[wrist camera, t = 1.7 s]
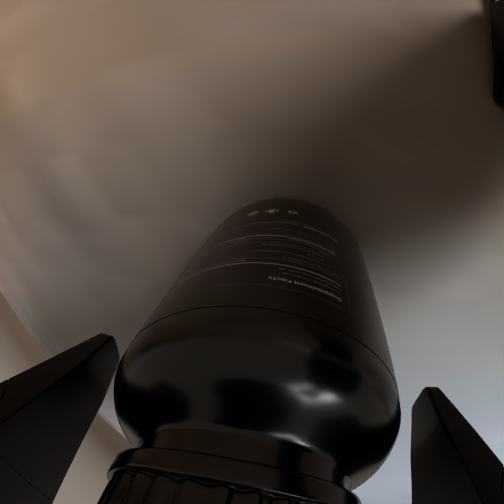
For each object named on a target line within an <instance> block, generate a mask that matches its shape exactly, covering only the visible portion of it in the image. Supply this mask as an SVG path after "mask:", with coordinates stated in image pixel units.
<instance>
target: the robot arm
mask: <svg viewBox="0 0 504 504" xmlns="http://www.w3.org/2000/svg"><path fill="white" fill-rule="evenodd" d="M490 12H491V27H492V53H493V55H494V80H493V98H494V101H495V103H496V104H497V105H498V106H499V107H500V108H503V109H504V100H503V98H502V93H503V92H504V0H491V4H490ZM118 363H119V353H118V349H117V345H116V341H115V339H114V337H113V336H110V335H107V334H103V333H101V334H98V335H96V336H94V337H92V338H90V339H88V340H86V341H84V342H82V343H80V344H78V345H76V346H74V347H72V348H70V349H68V350H66V351H64V352H62V353H60V354H58V355H56V356H54V357H52V358H50V359H48V360H46V361H44V362H42V363H40V364H38V365H36V366H34V367H32V368H30V369H28V370H26V371H24V372H22V373H20V374H18V375H16V376H14V377H12V378H10V379H9V380H5V381H3V382H1V383H0V504H52V503H53V501H54V499H55V496H56V494H57V492H58V490H59V488H60V486H61V484H62V482H63V479H64V477H65V475H66V473H67V471H68V469H69V467H70V465H71V463H72V461H73V459H74V457H75V455H76V453H77V451H78V449H79V447H80V445H81V443H82V441H83V439H84V437H85V435H86V433H87V431H88V429H89V427H90V425H91V423H92V422H93V420H94V418H95V416H96V414H97V412H98V410H99V408H100V406H101V404H102V402H103V400H104V398H105V395H106V393H107V390H108V388H109V385H110V383H111V380H112V378H113V375H114V373H115V371H116V368H117V366H118ZM411 478H412V504H504V467H503V464H502V463H501V461H500V460H499V459H498V458H497V456H496V455H495V454H494V453H493V451H492V450H491V449H490V448H489V446H488V445H487V444H486V443H485V442H484V440H483V439H482V438H481V437H480V436H479V434H478V433H477V432H476V431H475V430H474V428H473V427H472V426H471V425H470V424H469V422H468V421H467V420H466V419H465V418H464V416H463V415H462V414H461V413H460V412H459V411H458V409H457V408H456V407H455V406H454V405H453V404H452V402H451V401H450V400H449V399H448V398H447V397H446V396H445V394H444V393H443V392H442V391H441V390H440V389H439V388H438V387H425V388H424V389H423V390H422V392H421V393H420V395H419V397H418V398H417V400H416V401H415V403H414V405H413V407H412V428H411Z"/></svg>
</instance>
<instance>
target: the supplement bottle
mask: <svg viewBox="0 0 504 504" xmlns="http://www.w3.org/2000/svg"><path fill="white" fill-rule="evenodd" d="M114 405H115V411H116V415H117V418H118V421H119V424H120V426H121V429H122V431H123V433H124V435H125V436H126V438H127V440H128V441H129V443H130V444H131V445H132V447H133V448H131V449H127V450H124V451H122V452H120V453H119V454H118V455H117V456H116V458H115V459H114V461H113V463H112V464H111V466H110V468H109V470H108V472H107V479H108V484H107V486H106V488H105V490H104V491H103V493H102V495H101V497H100V499H99V501H98V503H97V504H362V503H361V501H360V499H359V498H358V496H356V495H355V494H354V493H353V492H351V491H352V490H354V489H356V488H357V487H359V486H360V485H362V484H363V483H364V482H366V481H367V480H368V479H369V478H370V477H372V476H373V475H374V474H375V473H376V472H377V471H378V469H379V468H380V467H381V466H382V465H383V463H384V462H385V461H386V459H387V457H388V456H389V454H390V452H391V451H392V448H393V446H394V444H395V442H396V439H397V436H398V433H399V428H400V423H401V408H400V401H399V393H398V387H397V382H396V377H395V373H394V368H393V364H392V360H391V356H390V351H389V347H388V343H387V339H386V335H385V332H384V328H383V324H382V320H381V317H380V313H379V310H378V306H377V302H376V299H375V296H374V292H373V289H372V285H371V282H370V279H369V276H368V272H367V269H366V266H365V263H364V260H363V258H362V255H361V252H360V250H359V247H358V245H357V243H356V241H355V239H354V238H353V236H352V234H351V233H350V232H349V230H348V229H347V228H346V227H345V226H344V224H343V223H342V222H341V221H339V220H338V219H337V218H336V217H335V216H333V215H332V214H331V213H329V212H328V211H326V210H324V209H323V208H320V207H318V206H316V205H314V204H311V203H308V202H305V201H300V200H295V199H284V198H279V199H268V200H263V201H259V202H255V203H253V204H250V205H247V206H245V207H243V208H242V209H240V210H238V211H237V212H235V213H234V214H232V215H231V216H230V217H229V218H227V219H226V220H225V221H224V222H223V223H222V224H221V225H220V226H219V228H218V229H217V230H216V231H215V232H214V233H213V235H212V236H211V237H210V238H209V240H208V241H207V242H206V244H205V245H204V246H203V247H202V249H201V250H200V251H199V253H198V254H197V255H196V256H195V258H194V259H193V260H192V262H191V263H190V264H189V266H188V267H187V268H186V269H185V271H184V272H183V273H182V275H181V276H180V277H179V279H178V280H177V281H176V283H175V284H174V285H173V287H172V288H171V289H170V291H169V292H168V293H167V295H166V296H165V297H164V299H163V300H162V301H161V303H160V304H159V305H158V307H157V308H156V309H155V311H154V312H153V313H152V315H151V316H150V318H149V319H148V320H147V322H146V323H145V324H144V326H143V327H142V329H141V330H140V331H139V333H138V334H137V335H136V337H135V338H134V340H133V341H132V343H131V344H130V346H129V348H128V349H127V351H126V352H125V354H124V355H123V357H122V359H121V361H120V363H119V365H118V368H117V371H116V375H115V381H114Z"/></svg>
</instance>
